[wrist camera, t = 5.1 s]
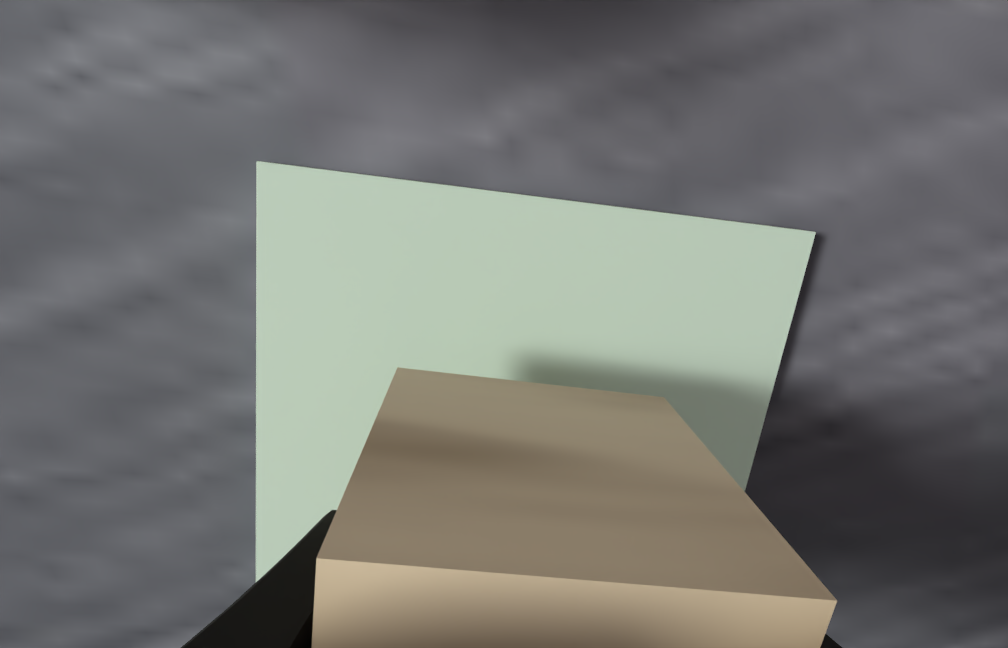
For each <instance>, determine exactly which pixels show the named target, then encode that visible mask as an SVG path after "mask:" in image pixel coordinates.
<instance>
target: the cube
mask: <svg viewBox="0 0 1008 648" xmlns="http://www.w3.org/2000/svg"><path fill="white" fill-rule="evenodd" d="M836 603H837V600H836V599H835V598H834V596H833V595H832V594H831V593H830V592H829V590H828V589H827V588H826V587H825V586H824V585H823V583H822V582H821V581H820V580H819V579H818V578H817V576H816V575H815V574H814V573H813V572H812V570H811V569H810V568H809V567H808V566H807V565H806V563H805V562H804V561H803V560H802V559H801V558H800V556H799V555H798V554H797V553H796V552H795V551H794V549H793V548H792V547H791V546H790V545H789V543H788V542H787V541H786V540H785V539H784V538H783V536H782V535H781V534H780V533H779V532H778V531H777V529H776V528H775V527H774V526H773V525H772V524H771V522H770V521H769V520H768V519H767V518H766V516H765V515H764V514H763V513H762V512H761V511H760V509H759V508H758V507H757V506H756V505H755V504H754V502H753V501H752V500H751V499H750V498H749V496H748V495H747V494H746V493H745V492H744V491H743V489H742V488H741V487H740V486H739V485H738V484H737V482H736V481H735V480H734V479H733V478H732V477H731V475H730V474H729V473H728V472H727V471H726V469H725V468H724V467H723V466H722V465H721V464H720V462H719V461H718V460H717V459H716V458H715V457H714V455H713V454H712V453H711V452H710V451H709V450H708V448H707V447H706V446H705V445H704V444H703V442H702V441H701V440H700V439H699V438H698V437H697V435H696V434H695V433H694V432H693V431H692V430H691V428H690V427H689V426H688V425H687V424H686V422H685V421H684V420H683V419H682V418H681V417H680V415H679V414H678V413H677V412H676V411H675V410H674V408H673V407H672V406H671V405H670V404H669V403H668V401H667V400H666V399H665V398H664V397H658V396H649V395H640V394H631V393H622V392H613V391H604V390H595V389H586V388H578V387H569V386H560V385H551V384H542V383H533V382H524V381H515V380H506V379H497V378H488V377H479V376H470V375H461V374H452V373H443V372H434V371H426V370H417V369H408V368H399V367H397V370H396V372H395V374H394V377H393V379H392V381H391V384H390V386H389V389H388V391H387V393H386V396H385V398H384V400H383V403H382V405H381V407H380V410H379V412H378V414H377V417H376V419H375V421H374V424H373V426H372V429H371V431H370V433H369V436H368V438H367V440H366V443H365V445H364V447H363V450H362V452H361V454H360V457H359V459H358V461H357V464H356V466H355V469H354V471H353V473H352V476H351V478H350V480H349V483H348V485H347V487H346V490H345V492H344V494H343V497H342V499H341V501H340V504H339V506H338V509H337V511H336V513H335V516H334V518H333V520H332V523H331V525H330V527H329V530H328V532H327V534H326V537H325V539H324V541H323V544H322V546H321V549H320V551H319V553H318V556H317V558H316V574H315V593H314V611H313V630H312V648H820V647H821V644H822V641H823V639H824V636H825V633H826V630H827V628H828V625H829V622H830V619H831V617H832V614H833V611H834V608H835V605H836Z"/></svg>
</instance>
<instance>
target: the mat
mask: <svg viewBox="0 0 1008 648" xmlns="http://www.w3.org/2000/svg"><path fill="white" fill-rule="evenodd" d="M815 234H816V232H812V231H806V230H799V229H791V228H783V227H776V226H768V225H760V224H752V223H744V222H736V221H728V220H720V219H713V218H705V217H697V216H689V215H681V214H673V213H665V212H657V211H649V210H642V209H634V208H626V207H618V206H610V205H602V204H594V203H586V202H579V201H571V200H563V199H555V198H547V197H539V196H531V195H523V194H516V193H508V192H500V191H492V190H484V189H476V188H468V187H460V186H453V185H445V184H437V183H429V182H421V181H413V180H405V179H397V178H390V177H382V176H374V175H366V174H358V173H350V172H342V171H334V170H327V169H319V168H311V167H303V166H295V165H287V164H279V163H271V162H260V161H257V221H256V582H257V581H258V580H259V579H260V578H261V577H262V576H264V575H265V574H266V573H267V572H268V571H269V570H270V569H271V568H272V567H273V566H274V565H275V564H276V563H277V562H278V561H279V560H281V559H282V558H283V557H284V556H285V555H286V554H287V553H288V552H289V551H290V550H291V549H292V548H293V547H294V546H295V545H296V544H297V543H298V542H299V541H300V540H301V539H302V538H303V537H304V536H305V535H306V534H307V533H308V532H309V531H310V530H311V529H312V528H313V527H314V526H315V525H316V524H317V523H318V522H319V521H320V520H321V519H322V518H323V517H324V516H325V515H326V514H327V513H329V512H330V511H331V510H337V509H338V506H339V504H340V501H341V499H342V497H343V494H344V492H345V490H346V487H347V485H348V483H349V480H350V478H351V476H352V473H353V471H354V469H355V466H356V464H357V461H358V459H359V457H360V454H361V452H362V450H363V447H364V445H365V443H366V440H367V438H368V436H369V433H370V431H371V429H372V426H373V424H374V421H375V419H376V417H377V414H378V412H379V410H380V407H381V405H382V403H383V400H384V398H385V396H386V393H387V391H388V389H389V386H390V384H391V381H392V379H393V377H394V374H395V372H396V370H397V367H399V368H408V369H417V370H426V371H434V372H443V373H452V374H461V375H470V376H479V377H488V378H497V379H506V380H515V381H524V382H533V383H542V384H551V385H560V386H569V387H578V388H586V389H595V390H604V391H613V392H622V393H631V394H640V395H649V396H658V397H664V398H665V399H666V400H667V401H668V403H669V404H670V405H671V406H672V407H673V408H674V410H675V411H676V412H677V413H678V414H679V415H680V417H681V418H682V419H683V420H684V421H685V422H686V424H687V425H688V426H689V427H690V428H691V430H692V431H693V432H694V433H695V434H696V435H697V437H698V438H699V439H700V440H701V441H702V442H703V444H704V445H705V446H706V447H707V448H708V450H709V451H710V452H711V453H712V454H713V455H714V457H715V458H716V459H717V460H718V461H719V462H720V464H721V465H722V466H723V467H724V468H725V469H726V471H727V472H728V473H729V474H730V475H731V477H732V478H733V479H734V480H735V481H736V482H737V484H738V485H739V486H740V487H741V488H742V489H743V491H744V492H745V489H746V485H747V482H748V478H749V474H750V471H751V467H752V463H753V460H754V456H755V453H756V449H757V445H758V442H759V438H760V434H761V431H762V427H763V423H764V420H765V416H766V412H767V409H768V405H769V401H770V398H771V394H772V391H773V387H774V383H775V380H776V376H777V372H778V369H779V365H780V361H781V358H782V354H783V350H784V347H785V343H786V340H787V336H788V332H789V329H790V325H791V321H792V318H793V314H794V310H795V307H796V303H797V299H798V296H799V292H800V289H801V285H802V281H803V278H804V274H805V270H806V267H807V263H808V259H809V256H810V252H811V248H812V245H813V241H814V237H815Z"/></svg>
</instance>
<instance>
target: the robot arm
mask: <svg viewBox="0 0 1008 648" xmlns="http://www.w3.org/2000/svg"><path fill="white" fill-rule="evenodd" d="M336 511H337V510H331V511H330V512H329V513H327V514H326V515H325V516H324V517H323V518H322V519H321V520H320V521H319V522H318V523H317V524H316V525H315V526H314V527H313V528H312V529H311V530H310V531H309V532H308V533H307V534H306V535H305V536H304V537H303V538H302V539H301V540H300V541H299V542H298V543H297V544H296V545H295V546H294V547H293V548H292V549H291V550H290V551H289V552H288V553H287V554H286V555H285V556H284V557H283V558H282V559H281V560H279V561H278V562H277V563H276V564H275V565H274V566H273V567H272V568H271V569H270V570H269V571H268V572H267V573H266V574H265V575H264V576H262V577H261V578H260V579H259V580H258V581H257V582H256V583H255V584H254V585H253V586H252V587H251V588H249V589H248V590H247V591H246V592H245V593H244V594H243V595H242V596H241V597H240V598H239V599H237V600H236V601H235V602H234V603H233V604H232V605H231V606H230V607H229V608H227V609H226V610H225V611H224V612H223V613H222V614H220V615H219V616H218V617H217V618H216V619H215V620H213V621H212V622H211V623H210V624H209V625H207V626H206V627H205V628H204V629H203V630H201V631H200V632H199V633H198V634H197V635H195V636H194V637H193V638H192V639H191V640H190V641H188V642H187V643H186V644H185V645H184V646H182V647H181V648H312V630H313V611H314V593H315V574H316V558H317V556H318V553H319V551H320V549H321V546H322V544H323V541H324V539H325V537H326V534H327V532H328V530H329V527H330V525H331V523H332V520H333V518H334V516H335V513H336ZM820 648H842V647H841V646H840V645H838V644H837V643H836V642H835V641H834V640H832V639H831V638H830V637H829V636H828V635H826V634H825V636H824V639H823V641H822V644H821V647H820Z"/></svg>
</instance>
